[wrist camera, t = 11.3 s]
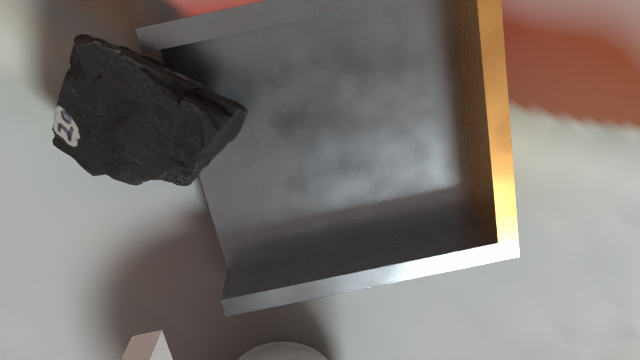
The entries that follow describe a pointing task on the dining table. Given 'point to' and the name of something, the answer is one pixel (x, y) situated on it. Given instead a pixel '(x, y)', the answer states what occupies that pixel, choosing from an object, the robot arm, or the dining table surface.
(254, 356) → the bowl
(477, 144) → the grey hollow tray
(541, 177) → the dining table surface
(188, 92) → the rock
